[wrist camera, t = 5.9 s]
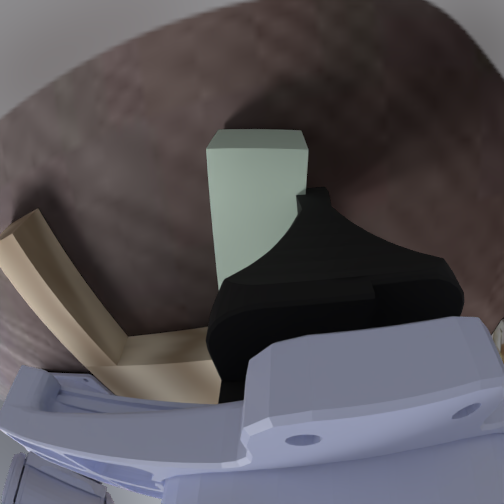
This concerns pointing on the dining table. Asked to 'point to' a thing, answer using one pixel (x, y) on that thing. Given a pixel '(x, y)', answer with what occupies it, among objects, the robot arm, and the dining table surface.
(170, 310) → the dining table surface
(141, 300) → the dining table surface
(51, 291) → the tan long rail frame
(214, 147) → the hinged leg
